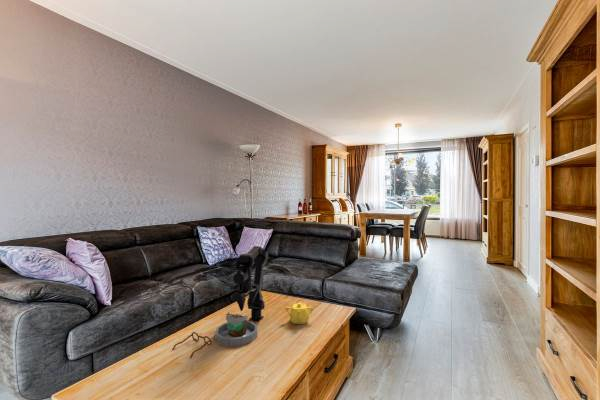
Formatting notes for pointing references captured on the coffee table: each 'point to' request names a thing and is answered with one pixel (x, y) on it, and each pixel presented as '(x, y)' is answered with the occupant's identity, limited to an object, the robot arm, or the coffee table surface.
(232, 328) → the food container
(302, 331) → the coffee table surface
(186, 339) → the glasses
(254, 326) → the bowl
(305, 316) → the teapot
